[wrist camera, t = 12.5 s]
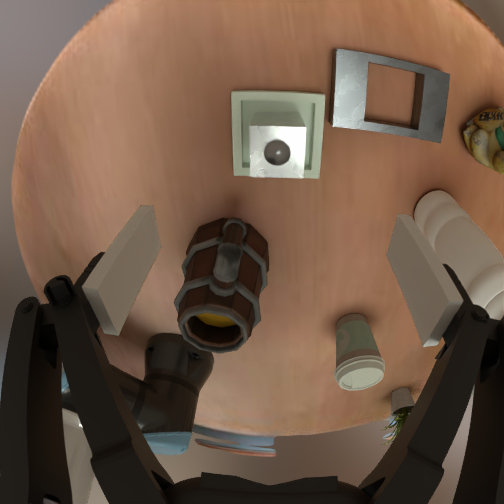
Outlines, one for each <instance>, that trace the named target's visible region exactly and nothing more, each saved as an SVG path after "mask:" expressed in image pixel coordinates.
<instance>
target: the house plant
mask: <svg viewBox="0 0 504 504" xmlns="http://www.w3.org/2000/svg"><path fill="white" fill-rule="evenodd" d="M414 405H415V403H414V400H413V398H412V396H411V393H410V391H409V389H408V388H399V389H397V390H395V391H393V392H392V393H391V415H392V416H396V417H395V418H396V419H394V420H393V421H397V422H396V423H395V424H394V425H392V426H390V425H391V424H392V423H393V421H392V423H391V424H390V425H389V426H390V427H389V426H388V427H386V429H387V428H391V427H393V426H395V425H396V424H397V423H398V424H397V426H396V428H397V431H398V432H397V431H396V432H395V435H396V433H397V435H398V433H399V431H400V430H401V428H402V426H403V425H404V423H405V421H406V420H407V418H408V416H409V414H410V413H411V411H412V409H413V407H414ZM408 413H409V414H408ZM397 416H398V417H399V418H398V417H397ZM396 428H395V429H396ZM394 431H395V430H394ZM394 431H393V433H394ZM393 433H392V434H393ZM392 434H391V435H392ZM391 435H390V436H391ZM395 435H394V436H393V438H394V437H395ZM397 435H396V436H397ZM390 436H388V437H390ZM388 437H386V438H388ZM393 438H392V439H393ZM395 438H396V437H395ZM392 439H391V440H392ZM391 440H390V441H391ZM390 441H388V442H387V443H389V442H390ZM392 442H393V441H392ZM385 444H386V443H385ZM383 445H384V444H383Z"/></svg>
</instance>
